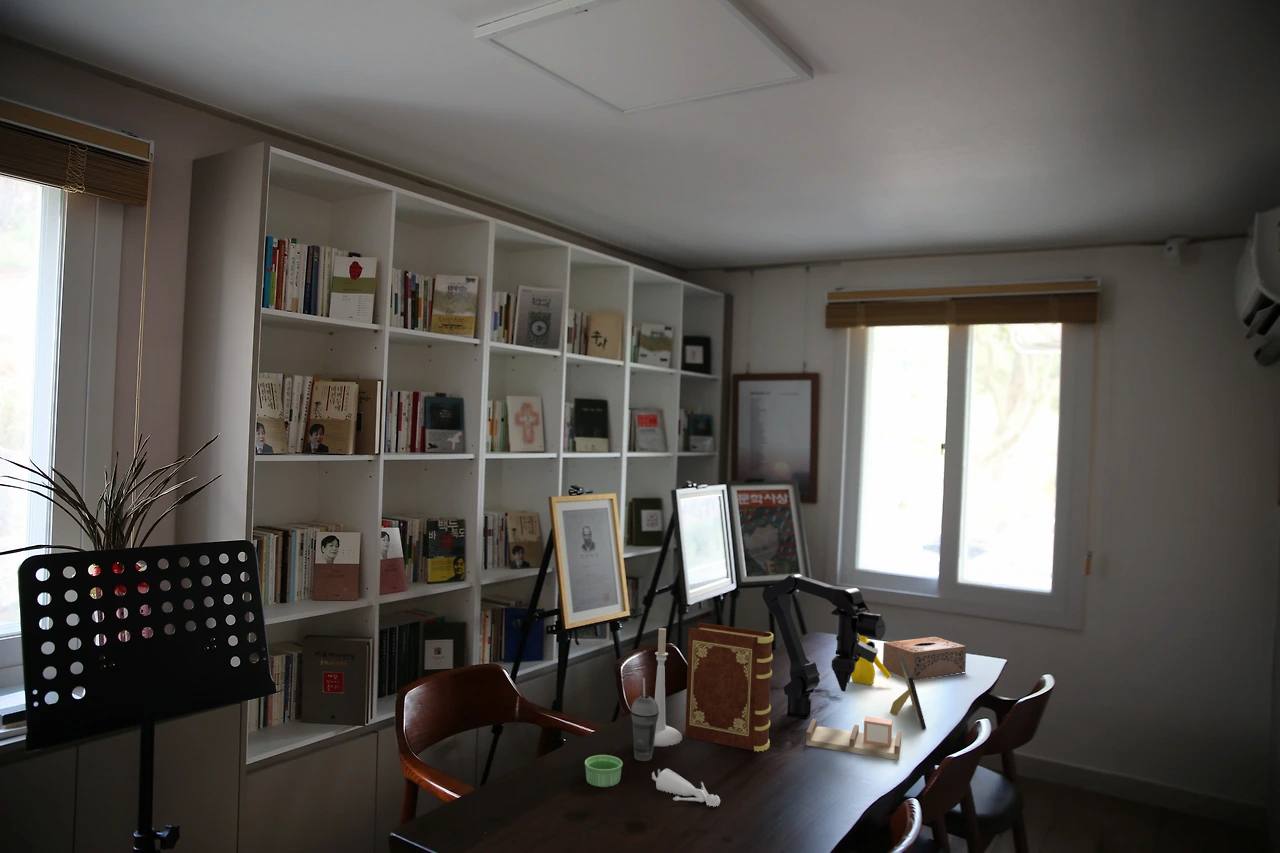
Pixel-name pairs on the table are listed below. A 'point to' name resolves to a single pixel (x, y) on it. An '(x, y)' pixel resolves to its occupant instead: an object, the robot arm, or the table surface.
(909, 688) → the picture frame
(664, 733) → the candlestick
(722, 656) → the decorative book
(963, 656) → the tissue box cover
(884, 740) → the frame block
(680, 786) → the woman figurine
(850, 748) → the ledge
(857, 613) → the robot arm
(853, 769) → the table surface
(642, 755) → the beverage cup
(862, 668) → the figure statuette
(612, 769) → the ramekin
